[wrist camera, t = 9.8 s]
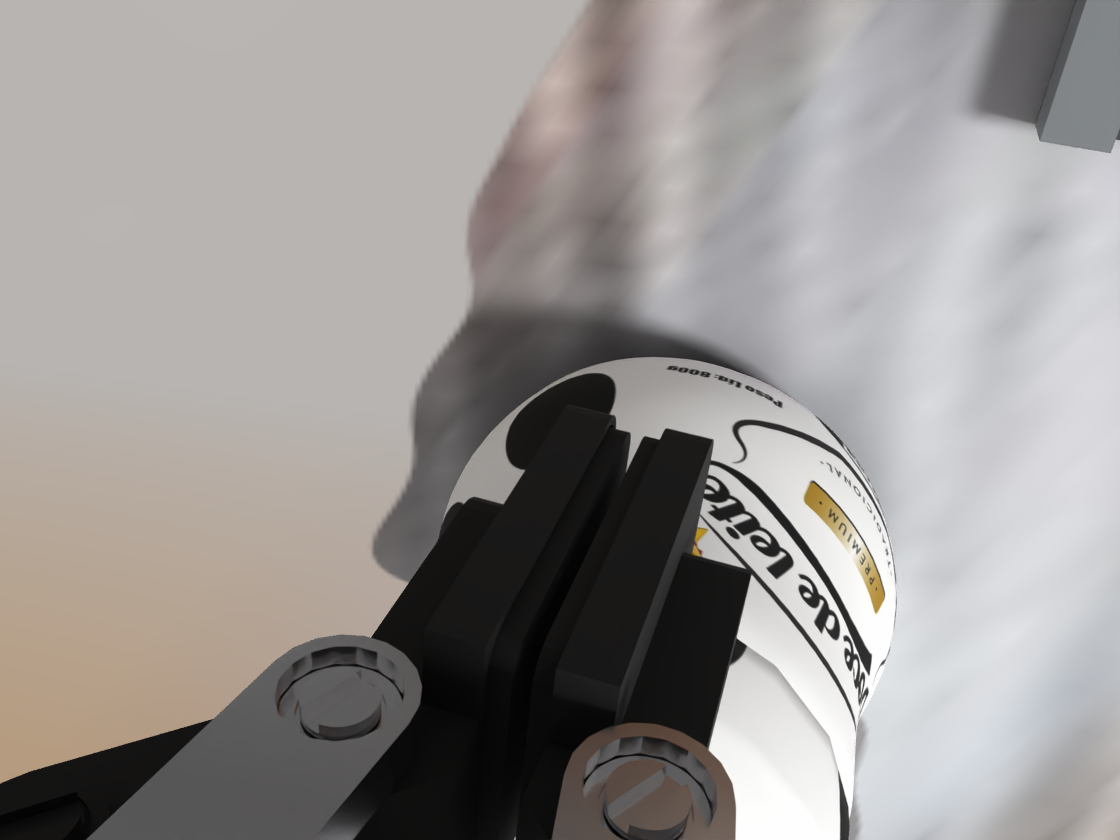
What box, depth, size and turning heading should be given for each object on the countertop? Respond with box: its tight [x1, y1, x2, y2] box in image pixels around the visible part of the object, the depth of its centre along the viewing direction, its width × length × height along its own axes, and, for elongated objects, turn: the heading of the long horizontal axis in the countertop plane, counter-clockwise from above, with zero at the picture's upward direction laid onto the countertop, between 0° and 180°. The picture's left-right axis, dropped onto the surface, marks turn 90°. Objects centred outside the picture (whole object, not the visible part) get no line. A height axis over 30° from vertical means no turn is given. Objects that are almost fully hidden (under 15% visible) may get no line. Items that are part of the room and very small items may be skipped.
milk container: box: [438, 357, 897, 840], centre depth 37 cm, size 17×17×18 cm
